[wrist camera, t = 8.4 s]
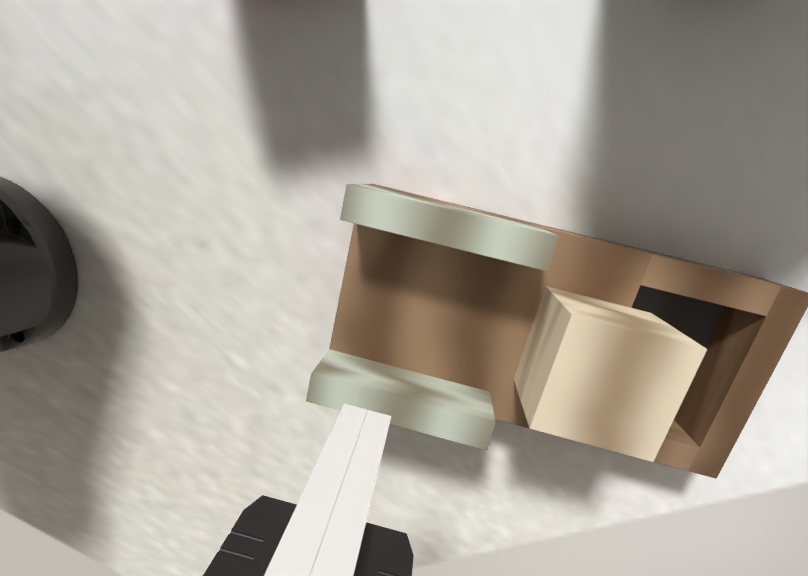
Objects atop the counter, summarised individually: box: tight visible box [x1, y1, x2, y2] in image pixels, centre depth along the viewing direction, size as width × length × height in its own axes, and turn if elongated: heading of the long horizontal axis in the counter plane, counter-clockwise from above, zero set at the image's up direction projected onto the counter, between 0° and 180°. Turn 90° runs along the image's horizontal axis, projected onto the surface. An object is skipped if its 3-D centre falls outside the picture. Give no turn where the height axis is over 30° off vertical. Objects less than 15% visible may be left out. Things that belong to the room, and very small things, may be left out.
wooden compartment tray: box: [306, 184, 808, 478], centre depth 28 cm, size 29×14×8 cm, turn 76°
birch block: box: [514, 286, 707, 462], centre depth 25 cm, size 7×7×6 cm
